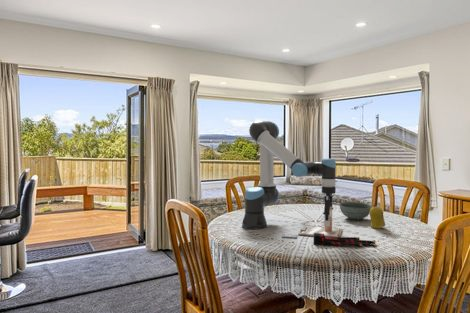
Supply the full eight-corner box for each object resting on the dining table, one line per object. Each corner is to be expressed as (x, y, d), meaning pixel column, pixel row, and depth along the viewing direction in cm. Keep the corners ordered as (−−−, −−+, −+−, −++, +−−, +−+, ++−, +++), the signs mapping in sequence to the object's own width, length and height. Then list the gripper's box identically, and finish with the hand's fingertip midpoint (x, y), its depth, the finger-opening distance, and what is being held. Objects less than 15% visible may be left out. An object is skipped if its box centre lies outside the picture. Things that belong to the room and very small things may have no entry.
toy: (373, 247, 173) (313, 241, 177) (374, 237, 173) (313, 232, 177) (377, 252, 165) (314, 246, 169) (378, 242, 165) (315, 236, 169)
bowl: (355, 214, 241) (355, 200, 240) (379, 220, 222) (379, 205, 222) (332, 217, 232) (332, 203, 232) (355, 224, 213) (355, 208, 213)
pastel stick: (324, 231, 192) (324, 207, 192) (325, 229, 196) (325, 205, 196) (331, 232, 191) (331, 207, 190) (332, 230, 195) (332, 206, 194)
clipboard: (298, 235, 189) (298, 232, 189) (304, 226, 207) (304, 223, 207) (339, 239, 181) (339, 235, 181) (342, 230, 199) (342, 227, 199)
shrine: (382, 231, 196) (382, 205, 195) (367, 229, 200) (367, 204, 200) (386, 227, 205) (386, 202, 204) (372, 225, 210) (372, 201, 209)
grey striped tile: (281, 237, 184) (281, 236, 184) (282, 234, 190) (282, 233, 190) (296, 238, 183) (296, 237, 183) (297, 235, 189) (297, 234, 189)
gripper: (333, 189, 179) (333, 229, 180) (337, 183, 203) (337, 219, 204) (318, 188, 182) (318, 228, 183) (324, 183, 205) (324, 218, 206)
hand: (328, 223), depth 193 cm, fingers open, 13 cm apart
